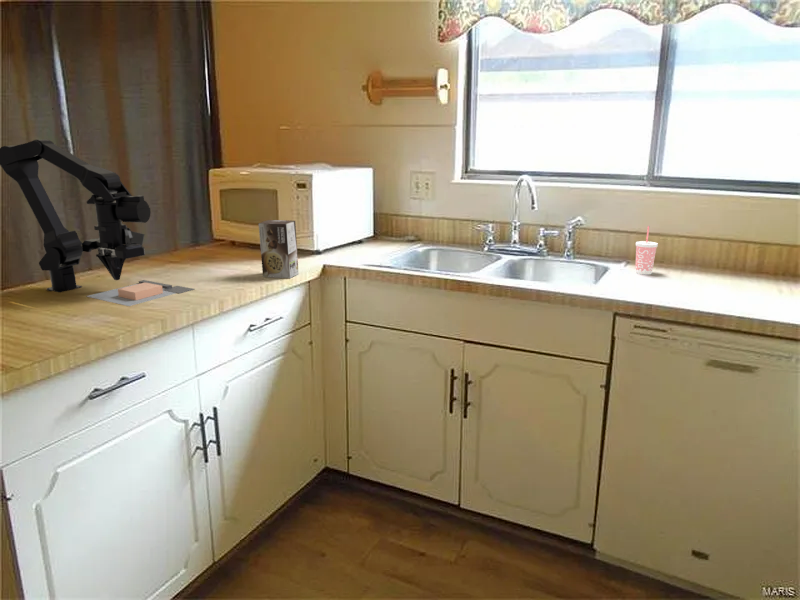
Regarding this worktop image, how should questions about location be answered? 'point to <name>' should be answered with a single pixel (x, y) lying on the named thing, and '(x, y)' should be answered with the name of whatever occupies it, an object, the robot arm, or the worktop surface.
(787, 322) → the worktop surface
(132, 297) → the tile
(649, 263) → the beverage cup
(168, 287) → the turner
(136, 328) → the worktop surface
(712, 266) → the worktop surface
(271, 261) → the coffee box
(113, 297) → the mat
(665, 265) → the worktop surface
